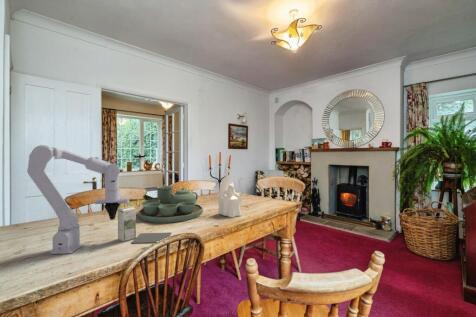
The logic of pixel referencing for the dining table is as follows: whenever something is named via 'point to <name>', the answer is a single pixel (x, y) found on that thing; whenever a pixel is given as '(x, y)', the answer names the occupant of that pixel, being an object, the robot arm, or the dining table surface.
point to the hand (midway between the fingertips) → (112, 219)
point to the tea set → (170, 206)
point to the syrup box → (126, 223)
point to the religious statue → (229, 197)
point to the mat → (150, 237)
